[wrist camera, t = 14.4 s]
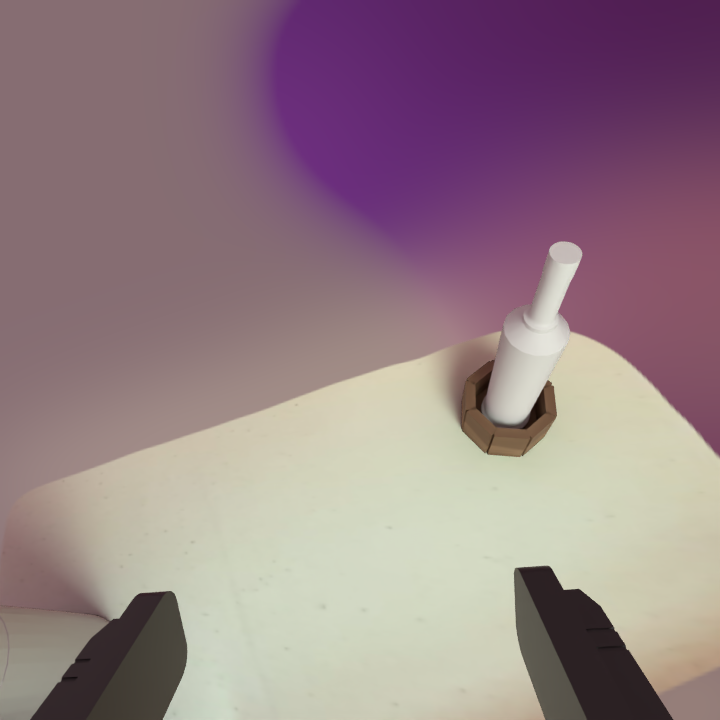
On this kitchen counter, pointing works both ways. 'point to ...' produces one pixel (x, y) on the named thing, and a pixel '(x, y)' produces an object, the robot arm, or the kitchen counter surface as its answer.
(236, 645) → the kitchen counter surface
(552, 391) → the wooden cup
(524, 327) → the bottle
